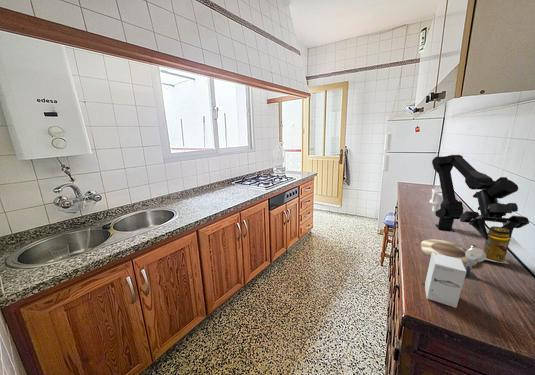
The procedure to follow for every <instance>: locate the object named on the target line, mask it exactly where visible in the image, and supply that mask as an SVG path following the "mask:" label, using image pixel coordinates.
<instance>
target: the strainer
mask: <svg viewBox="0 0 535 375" xmlns="http://www.w3.org/2000/svg"><path fill="white" fill-rule="evenodd" d="M431 192H432V195H431V199H429V203H430V204H432V209H431V211H432V212H434V213H435V212H436V211H437V210H439V209H440V208H439V207H440V205H441V203H442V201H443V196H442V190H441V188H432V189H431Z"/></svg>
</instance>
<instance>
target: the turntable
mask: <svg viewBox="0 0 535 375" xmlns="http://www.w3.org/2000/svg"><path fill="white" fill-rule="evenodd" d="M463 248H465V249H468V248H467V247H465V246H462V245H461V244H457V243H454V242H453V241H452V242H451V241H448V240H442V239H433V238H430V239H424V240H422V241H421V243H420V249H421V251H422V252H423V253H424V254H425V255H427V256H428V257H429V258H431V254H432V253H436V254H440V255H444V256H449V257H453V258H458V259H461V260H462V262H463V265H464V267H465V266H466V262H467V259H468V258H467V257H466V256H465V252H464V251H463V250H462V249H463ZM477 263H478V262H473V265H472V267H473V266H474V267H475V265H477Z"/></svg>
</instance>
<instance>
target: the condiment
mask: <svg viewBox="0 0 535 375" xmlns="http://www.w3.org/2000/svg"><path fill="white" fill-rule="evenodd" d="M509 234H510V231H509V230H508V229H505V228H502V226H496V225H495V226H490V227H489V230H488V232H487V235H488V239H485V241H484V242H485V243H484V244H483V249H482V250H483V251H484V252H485V253H486V258H485V260H486V261H491V262H495V263H499V264H500V263H501V264H506V265H510V263H509V262H508V261H507V259H506V258H507V257H506V256H507V252H508V249H509V245H510V242H511V239H510V238H509ZM509 241H510V242H509ZM485 260H484V261H485Z"/></svg>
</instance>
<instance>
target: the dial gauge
mask: <svg viewBox="0 0 535 375" xmlns="http://www.w3.org/2000/svg"><path fill="white" fill-rule="evenodd" d="M465 248H466V247H465ZM465 248H463V249H462V250H463V251H464V252H465V256H466V257H467V258H468V259H467V262H466V266H465V269H466V271H467V272H466V276H465V279H466V280H467V279H468V280H473V281H477V282H478V281H480V279H479V278H478V277H477V275H476V274H475V273H474V272H473V271H472V268H473V266H472V265H473V262H477V263H482V262H484V261H485V258H486V253H485V252H484V251H483V250H484V249H482V248H480V247H478V245H475V244H471V245H470V247H468V248H467V249H465Z"/></svg>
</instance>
